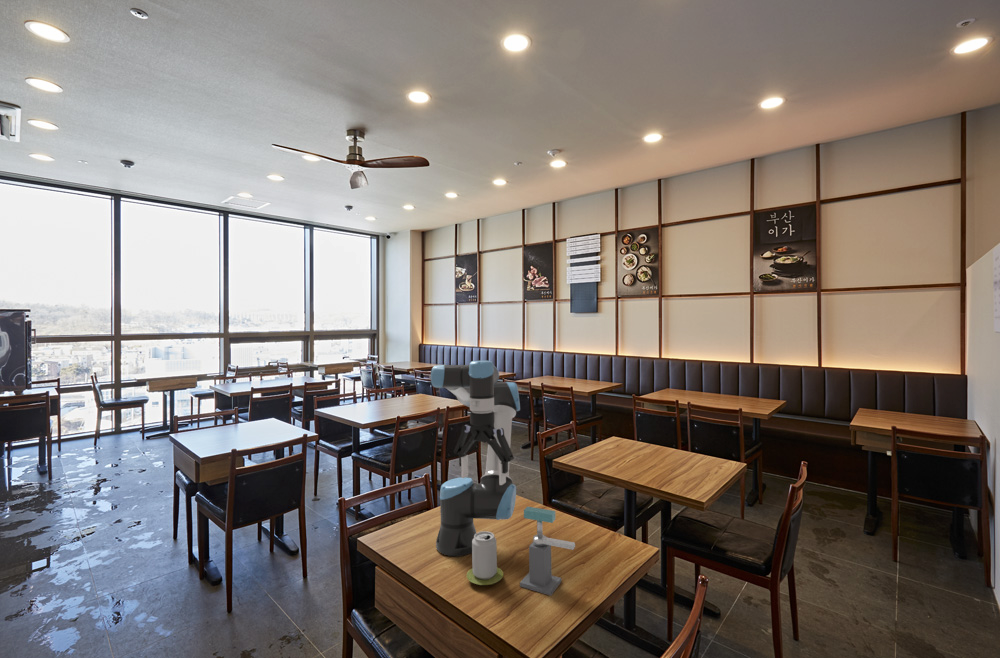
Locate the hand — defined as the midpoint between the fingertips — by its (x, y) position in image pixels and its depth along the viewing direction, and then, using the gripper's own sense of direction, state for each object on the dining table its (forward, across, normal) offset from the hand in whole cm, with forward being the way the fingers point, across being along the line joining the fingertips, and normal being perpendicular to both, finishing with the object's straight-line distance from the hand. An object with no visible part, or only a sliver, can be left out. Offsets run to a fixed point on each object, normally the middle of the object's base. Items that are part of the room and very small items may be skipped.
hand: (483, 480), depth 138 cm
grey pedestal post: (+31, +16, +6) cm, 35 cm away
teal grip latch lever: (+18, +19, +6) cm, 27 cm away
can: (+29, 0, 0) cm, 29 cm away
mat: (+31, 0, 0) cm, 31 cm away
